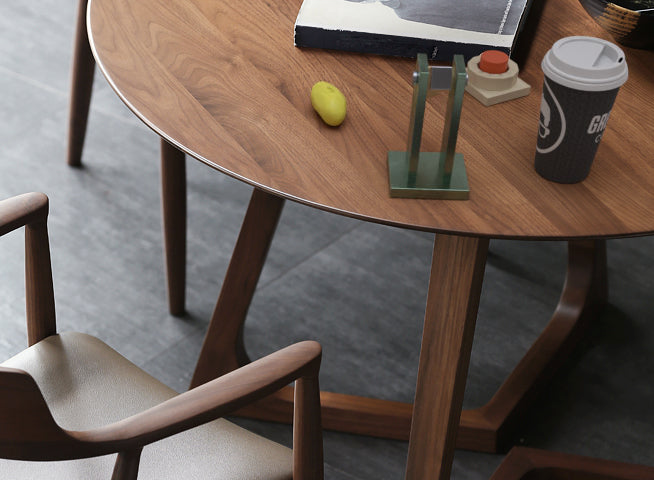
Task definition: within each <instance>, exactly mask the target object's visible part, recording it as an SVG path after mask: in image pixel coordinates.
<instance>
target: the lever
mask: <svg viewBox="0 0 654 480" xmlns="http://www.w3.org/2000/svg"><path fill="white" fill-rule="evenodd" d="M428 67H429V81H428V89H427V97H426V99H431V98H435V97H437V96H439V95H440V94H441V93H442V92H443V91H445V92H447V91H448V92H449V90H451V81H452V66H433V65H428Z"/></svg>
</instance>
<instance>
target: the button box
mask: <svg viewBox="0 0 654 480" xmlns="http://www.w3.org/2000/svg"><path fill="white" fill-rule="evenodd" d="M480 58H481V54H480V55H476V56H472V58H471V59H470V60H468V62H467V64H466V65H467V66H466V67H465V68H466V73H468V84H467V86H465V90H464V91H465V92H467V94H470V96H471V97H473V98H475V99H476V100H477V101H478V102H480V103H481V104H482V105H483V106H484V107H489V106H492V105H493V106H494V105H496V104H501V103H504V102H507V101H511V100H515V99H519V98H523V97H526V96H529V95H530V94H531V93H530V92H531V88H532V86H531V85H529V84H528V83H527V82H525V81H524V80H522V79H521V78H520V77H519V71H520V69H519V66H518V64H517V62H515V61H513V60H512V59H511V58H509V60H508V65H507V71H506V72H505V73H502V74H489V73H486V72H483V71H481V70H480V69H479V65H480Z"/></svg>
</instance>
